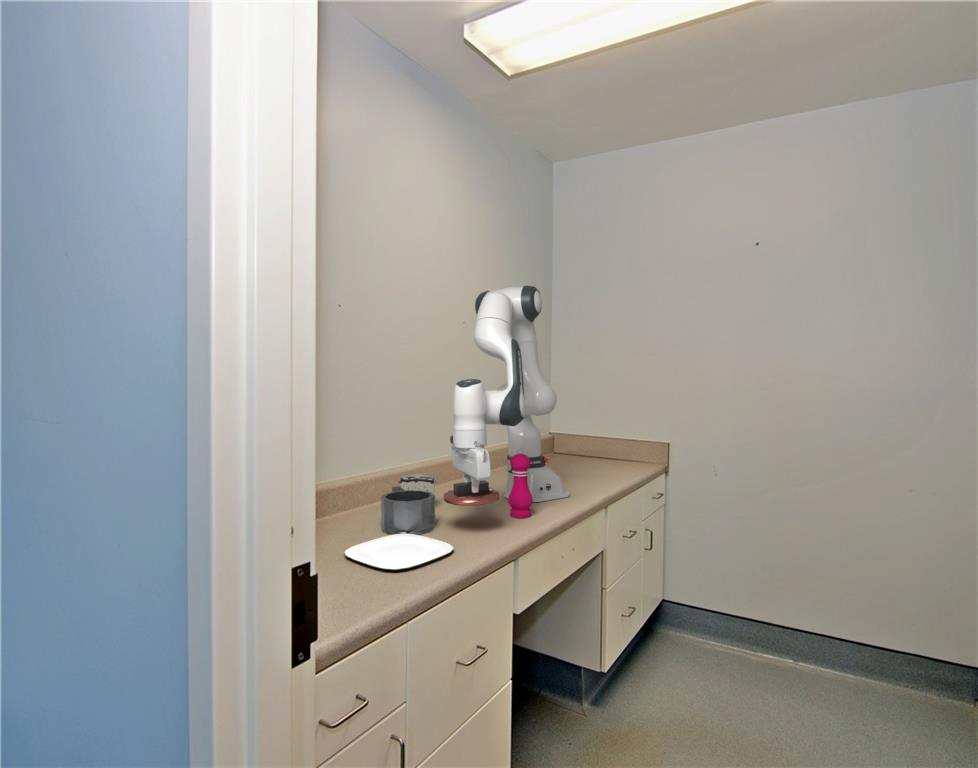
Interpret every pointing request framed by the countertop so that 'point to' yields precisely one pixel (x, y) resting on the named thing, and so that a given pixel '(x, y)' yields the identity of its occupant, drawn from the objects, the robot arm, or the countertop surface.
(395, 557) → the plate
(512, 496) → the pepper mill
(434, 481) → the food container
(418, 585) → the countertop surface
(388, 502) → the pot
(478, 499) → the lid
